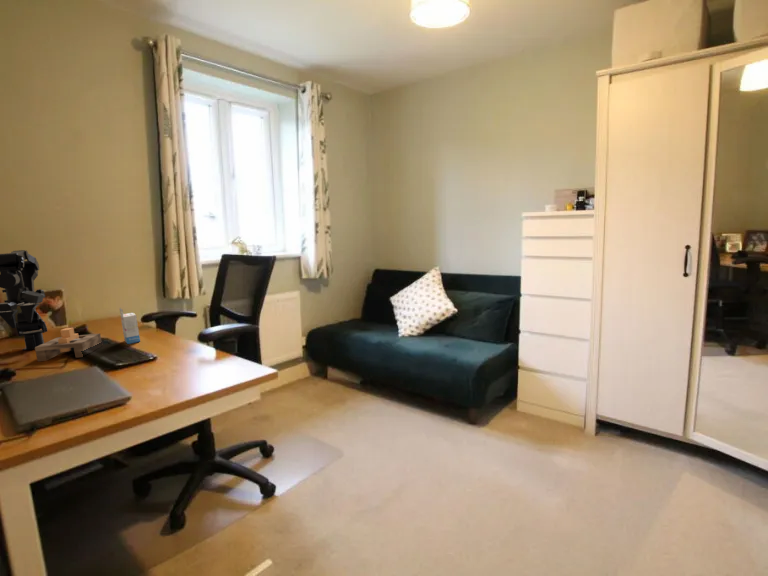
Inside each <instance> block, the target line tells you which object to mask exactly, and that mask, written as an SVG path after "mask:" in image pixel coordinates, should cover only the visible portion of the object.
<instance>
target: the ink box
mask: <svg viewBox="0 0 768 576" xmlns="http://www.w3.org/2000/svg"><path fill="white" fill-rule="evenodd" d="M119 313H120V321H121V327H122V334H123V337H124V342H125V343H126V344H127V345H131V344H136V343H140V342H141V337H140V332H139V331H140V330H139V326H138V319H137V314H135V313H134V312H128V313H124V310H123V308H121V307H119Z"/></svg>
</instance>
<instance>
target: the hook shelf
mask: <svg viewBox="0 0 768 576" xmlns="http://www.w3.org/2000/svg"><path fill="white" fill-rule="evenodd" d="M78 335H79V334H78ZM60 338H62V336H60V337H55V338H53V339H51V340H48V341H46V342H44V344H41V345H39V346H37V347H35V349H34V350H35V354H36V359H37V362H44V361H45V362H46V361H49V360H51V359H52V358H55V357H57V356H58V355H60V354H63V352H60V349H64V348H71V349H72V348H73V351H74V355H75V358H76V359H77V358H84V357H83V354H82V352H81V351H84V350H86V349H88V348H90V347H93V346H95V345H97V344H99V343H101V342H102V337H101V333H91V334H90V333H89V334H80V335H79V339H74V340H72V341H69V342H70V343H63V344H59V343H58V339H60ZM102 343H103V342H102Z"/></svg>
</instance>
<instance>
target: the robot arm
mask: <svg viewBox="0 0 768 576" xmlns="http://www.w3.org/2000/svg"><path fill="white" fill-rule="evenodd" d="M39 271H40V265H39V262H38V259H37V258H36V257H35V256H33V255H31V254H30V253H29V252H28V250H26V249H20V250H19V249H18V250H13V251H11V252H9V253H8V252H7V253H0V288H1V289H2V290H1V292H2V293H5V296H6V299H4V302H0V317H1V319H3V320H4V321H5V322H6V323H7V325H9V327H11V328H12V329H16V331H17V334H18V336H19V337H22V336H23V338H24V343H25V347H24V348H22V351H29V350H35V347H37V346H39V345H41V344H44V343H45V339H44V337H43V336H44V335H43V333H47V332H48V327H47V324H46V321H44V320H43V318H42V316H41V315H40V314H39V313H38V311H37V310H36V309H37V307H38V306H39V305H41V303H43V300H44V298H46V292H45V290H44V289H41V288H39V289H37V290H35V279H36V278H38V276H39ZM18 307H19V308H20V310H21V311H20V312H18V311H19V309H18ZM16 317H17V318H16ZM16 319H17V321H16Z"/></svg>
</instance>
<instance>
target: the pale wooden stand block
mask: <svg viewBox="0 0 768 576" xmlns="http://www.w3.org/2000/svg"><path fill="white" fill-rule="evenodd" d="M59 331H60V335H61V336H60V337H62V338H60V339H58V343H59V344H63V343H70V342H69V341H72V340H74V339H79V333H75V329H74V327H67V328H66V327H65V328H62V329H60V330H59ZM70 351H72V348H64V349H60V352H62V353H67V352H70Z"/></svg>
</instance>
